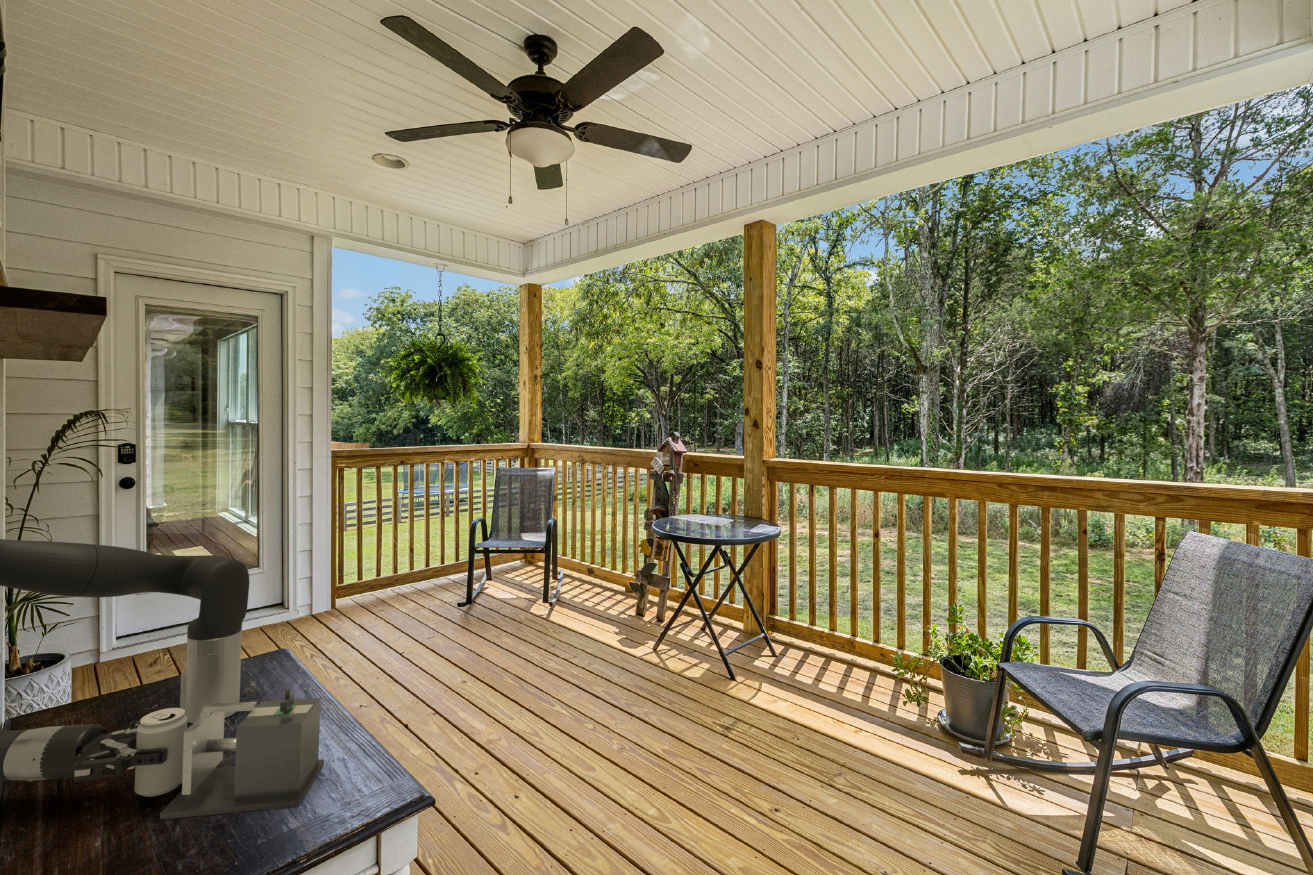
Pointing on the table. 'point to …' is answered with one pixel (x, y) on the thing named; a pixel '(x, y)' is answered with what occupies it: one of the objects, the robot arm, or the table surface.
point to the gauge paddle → (207, 743)
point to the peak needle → (287, 701)
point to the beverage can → (161, 733)
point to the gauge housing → (261, 764)
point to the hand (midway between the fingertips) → (178, 744)
